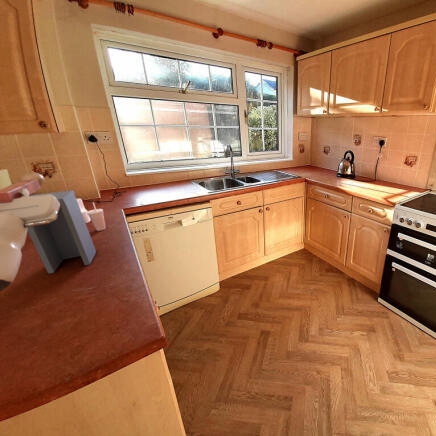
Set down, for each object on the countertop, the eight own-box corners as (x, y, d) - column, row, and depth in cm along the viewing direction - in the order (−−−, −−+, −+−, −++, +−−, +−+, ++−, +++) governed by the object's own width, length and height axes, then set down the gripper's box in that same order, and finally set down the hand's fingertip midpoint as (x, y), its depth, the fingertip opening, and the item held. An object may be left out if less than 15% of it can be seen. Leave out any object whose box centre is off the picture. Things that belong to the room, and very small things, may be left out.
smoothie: (111, 228, 122) (102, 201, 117) (96, 232, 117) (86, 205, 112) (105, 225, 126) (96, 199, 120) (91, 230, 121) (81, 203, 116)
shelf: (89, 265, 90) (63, 198, 81) (47, 274, 85) (13, 204, 76) (96, 251, 100) (73, 190, 91) (59, 258, 95) (30, 195, 86)
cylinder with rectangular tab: (81, 225, 127) (73, 203, 122) (64, 226, 127) (55, 204, 122) (94, 219, 135) (87, 198, 130) (78, 219, 135) (70, 198, 130)
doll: (16, 203, 62) (7, 184, 60) (-11, 206, 60) (-21, 187, 58) (49, 184, 81) (43, 170, 80) (29, 187, 79) (23, 171, 78)
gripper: (49, 214, 60) (55, 178, 68) (-75, 232, 52) (-53, 188, 59) (62, 229, 65) (66, 194, 72) (-51, 248, 57) (-33, 206, 64)
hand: (11, 191), depth 66 cm, fingers closed on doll, 3 cm apart
